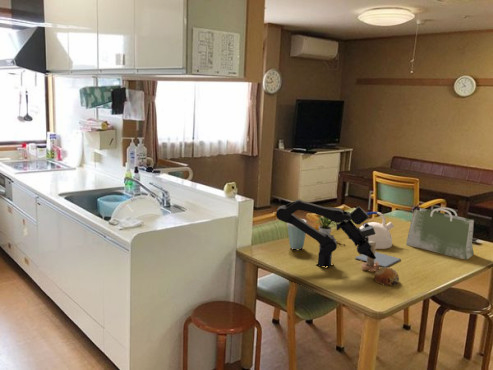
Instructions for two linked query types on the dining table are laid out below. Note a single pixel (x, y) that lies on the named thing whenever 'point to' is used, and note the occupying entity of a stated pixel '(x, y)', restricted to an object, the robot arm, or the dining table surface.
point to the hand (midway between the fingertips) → (374, 256)
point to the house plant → (325, 225)
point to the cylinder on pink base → (371, 260)
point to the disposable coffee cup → (296, 236)
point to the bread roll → (386, 276)
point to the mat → (381, 259)
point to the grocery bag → (441, 233)
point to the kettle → (380, 232)
